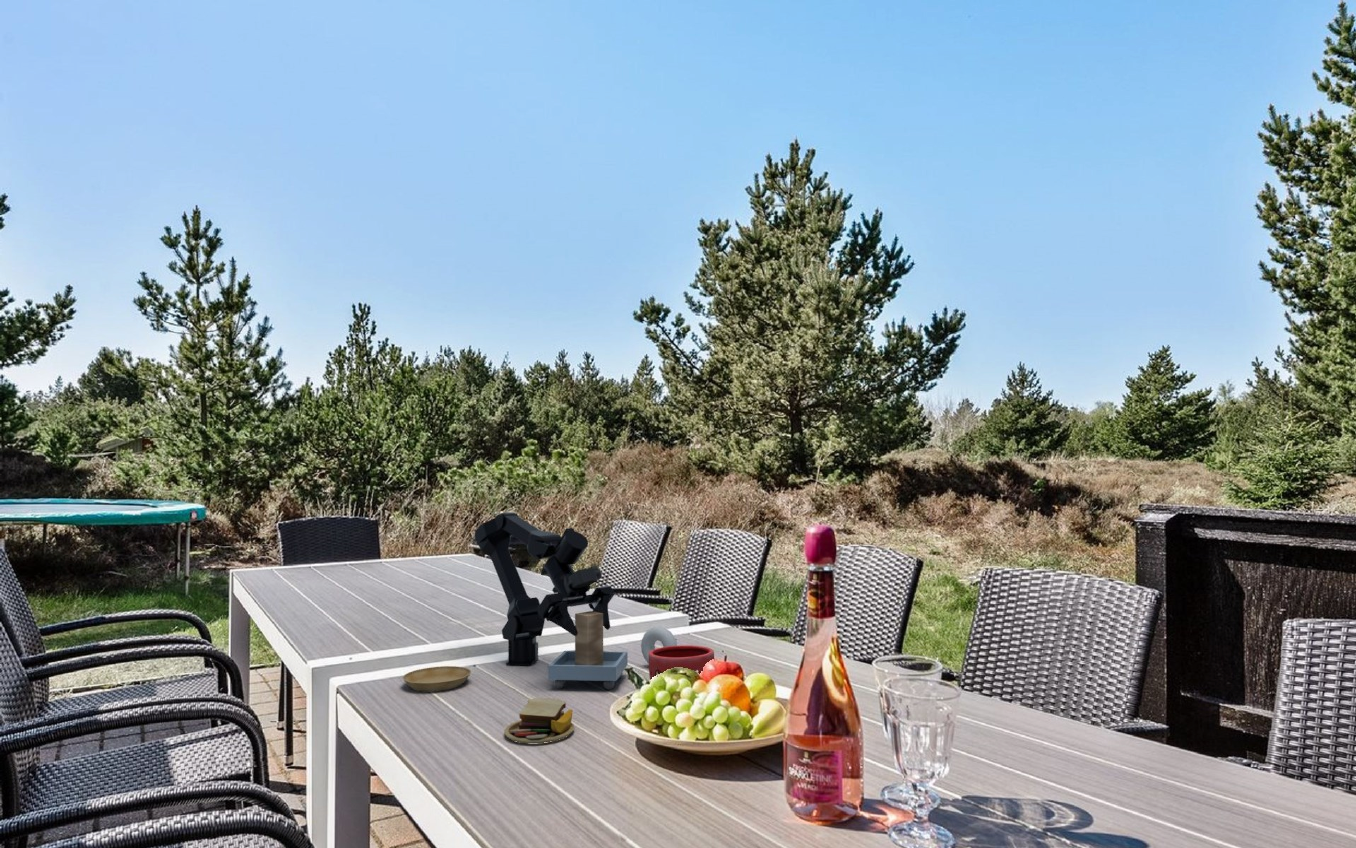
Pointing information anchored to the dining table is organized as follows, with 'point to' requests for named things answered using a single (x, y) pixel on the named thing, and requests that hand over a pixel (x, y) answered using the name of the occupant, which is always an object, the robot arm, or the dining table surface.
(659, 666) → the plant pot
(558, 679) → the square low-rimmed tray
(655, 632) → the donut
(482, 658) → the dining table surface
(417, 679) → the plant saucer
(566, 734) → the toy sandwich meal
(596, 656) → the block
